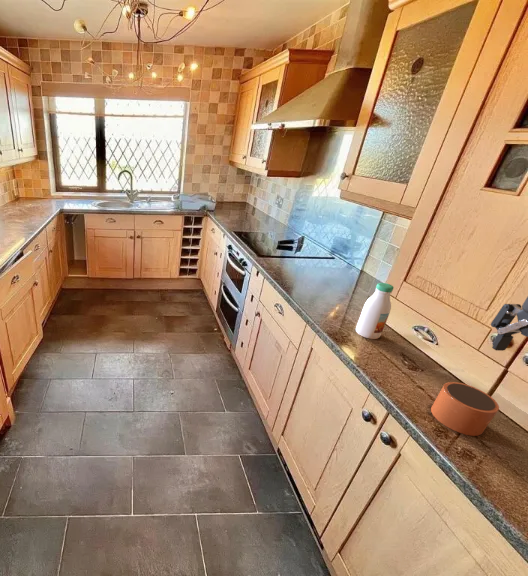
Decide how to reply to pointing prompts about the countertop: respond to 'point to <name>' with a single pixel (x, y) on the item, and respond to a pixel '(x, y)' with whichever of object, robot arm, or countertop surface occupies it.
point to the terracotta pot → (464, 408)
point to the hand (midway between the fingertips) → (517, 362)
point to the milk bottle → (375, 312)
